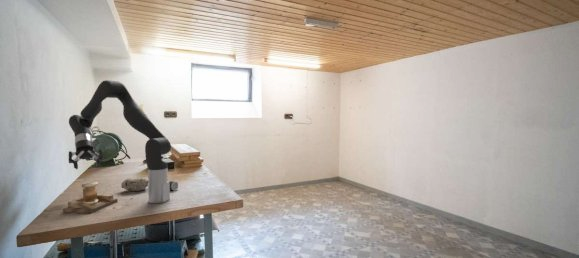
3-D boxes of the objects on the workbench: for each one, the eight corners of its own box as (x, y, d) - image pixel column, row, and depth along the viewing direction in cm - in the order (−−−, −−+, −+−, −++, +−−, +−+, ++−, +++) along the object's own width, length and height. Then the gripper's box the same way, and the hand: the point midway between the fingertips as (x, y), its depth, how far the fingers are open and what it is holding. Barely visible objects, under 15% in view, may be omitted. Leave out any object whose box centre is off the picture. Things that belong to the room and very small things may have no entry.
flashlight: (151, 189, 156) (151, 180, 155) (158, 187, 161) (157, 178, 161) (172, 191, 151) (171, 182, 151) (178, 189, 157) (178, 180, 156)
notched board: (117, 201, 133) (117, 194, 132) (90, 213, 117) (90, 204, 116) (92, 200, 134) (92, 193, 134) (62, 211, 118) (62, 203, 118)
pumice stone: (121, 194, 144) (120, 179, 144) (121, 193, 153) (120, 179, 154) (149, 189, 151) (148, 176, 152) (148, 188, 161) (147, 176, 162)
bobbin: (101, 201, 128) (100, 182, 128) (90, 205, 122) (89, 185, 121) (90, 201, 129) (89, 181, 128) (78, 205, 123) (78, 184, 122)
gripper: (67, 139, 133) (69, 164, 126) (100, 138, 143) (105, 161, 136) (66, 148, 137) (69, 173, 130) (99, 146, 147) (103, 169, 140)
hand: (87, 167), depth 133 cm, fingers open, 8 cm apart
